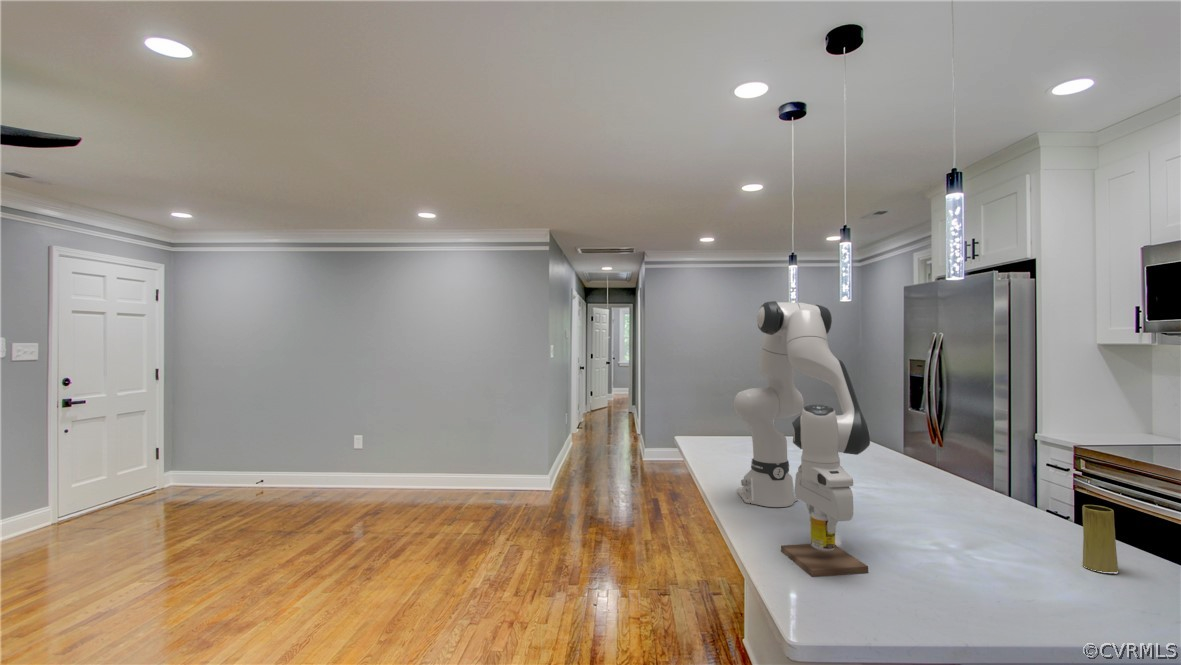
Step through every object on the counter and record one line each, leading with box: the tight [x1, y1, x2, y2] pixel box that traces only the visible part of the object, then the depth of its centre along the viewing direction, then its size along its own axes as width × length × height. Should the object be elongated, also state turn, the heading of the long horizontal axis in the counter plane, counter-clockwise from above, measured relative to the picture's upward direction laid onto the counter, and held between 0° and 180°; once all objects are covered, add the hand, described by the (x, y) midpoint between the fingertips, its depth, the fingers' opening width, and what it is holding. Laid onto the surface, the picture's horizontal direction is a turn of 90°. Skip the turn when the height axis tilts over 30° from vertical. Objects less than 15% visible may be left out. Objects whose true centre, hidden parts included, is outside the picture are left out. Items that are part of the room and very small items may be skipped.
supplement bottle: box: [810, 508, 836, 551], centre depth 128 cm, size 6×6×10 cm
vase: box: [1081, 504, 1120, 572], centre depth 121 cm, size 6×6×14 cm
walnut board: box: [780, 543, 869, 578], centre depth 128 cm, size 15×14×2 cm
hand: (822, 527), depth 128 cm, fingers closed on supplement bottle, 5 cm apart
